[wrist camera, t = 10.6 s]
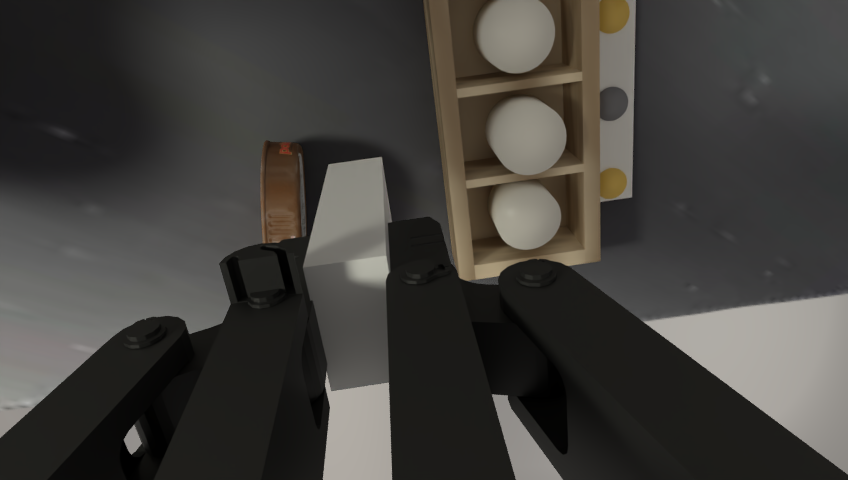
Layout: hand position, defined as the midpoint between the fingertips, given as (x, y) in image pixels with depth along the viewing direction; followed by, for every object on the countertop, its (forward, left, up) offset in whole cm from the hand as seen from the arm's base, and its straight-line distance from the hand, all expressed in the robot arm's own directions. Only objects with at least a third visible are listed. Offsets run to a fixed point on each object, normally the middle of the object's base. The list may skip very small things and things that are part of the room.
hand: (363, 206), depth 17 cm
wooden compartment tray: (+10, -5, -29) cm, 31 cm away
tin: (-8, -11, -30) cm, 33 cm away
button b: (+10, -5, -26) cm, 28 cm away
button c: (+10, +2, -28) cm, 29 cm away
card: (+18, -5, -29) cm, 35 cm away
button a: (+10, -12, -28) cm, 32 cm away
